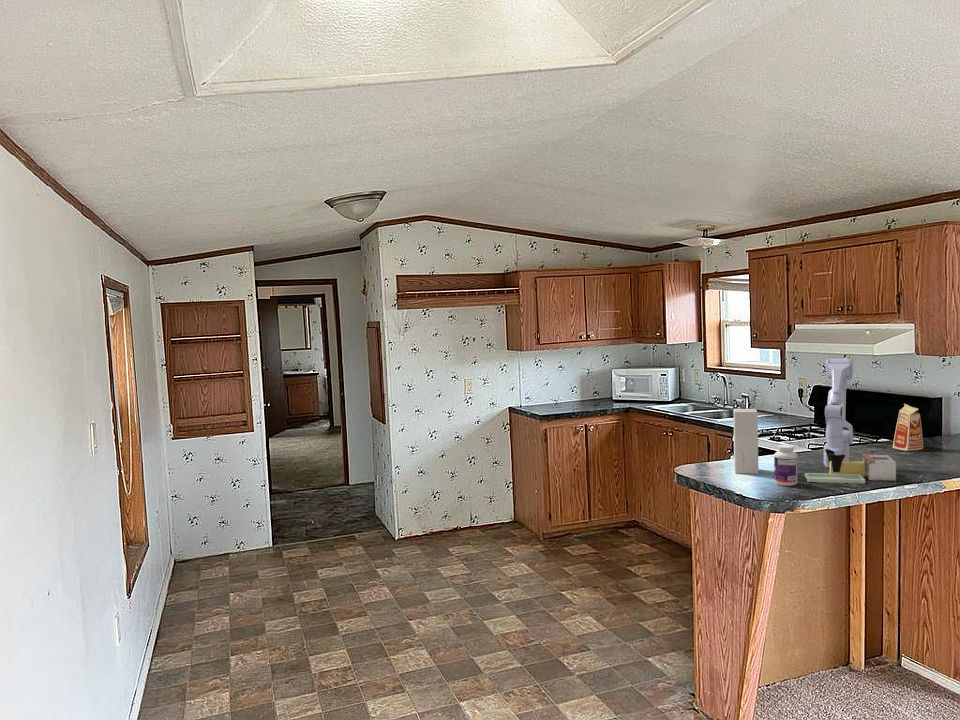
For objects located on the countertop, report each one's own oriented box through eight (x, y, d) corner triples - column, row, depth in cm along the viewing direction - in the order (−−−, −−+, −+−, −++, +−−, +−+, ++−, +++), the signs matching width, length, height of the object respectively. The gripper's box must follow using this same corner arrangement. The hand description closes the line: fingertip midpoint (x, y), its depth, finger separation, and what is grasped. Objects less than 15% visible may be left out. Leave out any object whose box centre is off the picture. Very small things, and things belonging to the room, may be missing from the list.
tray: (808, 482, 292) (808, 478, 292) (804, 476, 301) (804, 472, 301) (865, 484, 286) (865, 480, 286) (860, 478, 296) (860, 474, 296)
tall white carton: (735, 473, 311) (734, 411, 309) (734, 468, 319) (733, 408, 317) (758, 474, 308) (757, 411, 306) (756, 469, 317) (756, 408, 315)
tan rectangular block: (830, 476, 300) (830, 462, 300) (829, 474, 303) (829, 461, 303) (864, 477, 297) (864, 463, 297) (863, 475, 300) (863, 461, 300)
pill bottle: (778, 480, 297) (778, 443, 295) (800, 483, 291) (800, 445, 290) (771, 484, 290) (770, 446, 289) (793, 487, 285) (793, 448, 284)
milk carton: (892, 447, 349) (892, 403, 347) (908, 446, 352) (908, 402, 350) (909, 451, 340) (909, 406, 339) (925, 449, 343) (925, 404, 341)
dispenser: (869, 479, 292) (869, 460, 292) (862, 472, 305) (862, 453, 304) (895, 480, 290) (895, 461, 289) (887, 472, 302) (887, 454, 302)
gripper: (849, 438, 292) (849, 474, 293) (842, 432, 306) (842, 465, 307) (829, 438, 294) (829, 473, 295) (823, 431, 308) (823, 465, 309)
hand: (834, 469), depth 301 cm, fingers open, 7 cm apart
